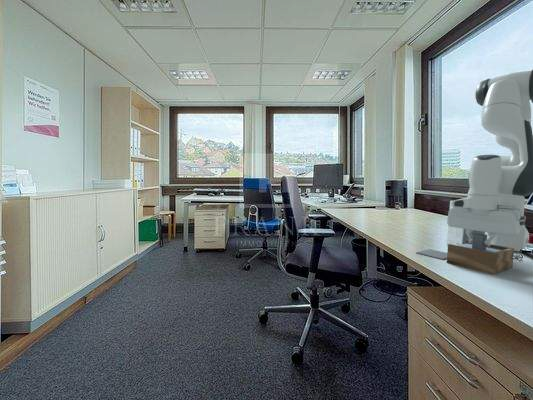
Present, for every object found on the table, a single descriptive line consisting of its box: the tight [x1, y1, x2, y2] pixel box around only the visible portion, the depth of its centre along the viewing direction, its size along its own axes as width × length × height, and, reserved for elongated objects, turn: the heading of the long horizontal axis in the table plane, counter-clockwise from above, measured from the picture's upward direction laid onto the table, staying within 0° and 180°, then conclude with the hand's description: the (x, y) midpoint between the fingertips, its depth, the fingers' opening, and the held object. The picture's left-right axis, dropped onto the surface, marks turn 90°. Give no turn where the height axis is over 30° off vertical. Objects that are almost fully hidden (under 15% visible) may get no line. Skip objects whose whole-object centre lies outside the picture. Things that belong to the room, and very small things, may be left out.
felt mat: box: [415, 248, 447, 261], centre depth 114 cm, size 10×10×1 cm
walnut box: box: [446, 240, 515, 275], centre depth 101 cm, size 14×14×6 cm
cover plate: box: [458, 233, 501, 253], centre depth 101 cm, size 11×12×6 cm
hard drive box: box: [446, 200, 485, 247], centre depth 121 cm, size 16×8×20 cm, turn 168°
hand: (479, 244), depth 101 cm, fingers closed on cover plate, 3 cm apart
